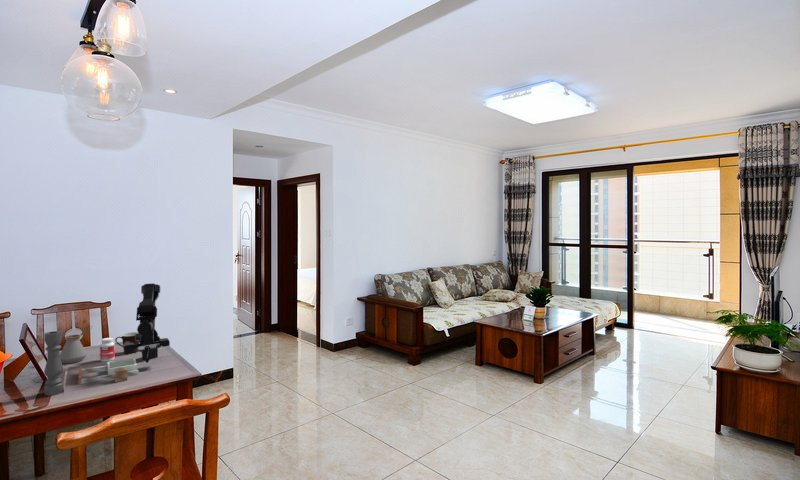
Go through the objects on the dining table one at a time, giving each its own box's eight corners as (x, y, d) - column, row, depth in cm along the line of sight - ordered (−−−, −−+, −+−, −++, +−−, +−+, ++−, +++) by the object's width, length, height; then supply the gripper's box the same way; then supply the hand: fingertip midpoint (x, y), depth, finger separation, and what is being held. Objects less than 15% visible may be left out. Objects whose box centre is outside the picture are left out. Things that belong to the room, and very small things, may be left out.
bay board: (135, 367, 207) (135, 359, 206) (138, 376, 194) (138, 368, 194) (79, 376, 194) (79, 367, 194) (78, 387, 181) (78, 377, 181)
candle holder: (51, 390, 177) (50, 330, 177) (67, 389, 178) (66, 330, 177) (40, 395, 171) (39, 334, 170) (56, 395, 172) (55, 334, 171)
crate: (135, 366, 205) (135, 357, 205) (137, 373, 195) (137, 364, 195) (107, 370, 198) (107, 361, 198) (108, 377, 189) (108, 369, 188)
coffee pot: (78, 364, 210) (78, 334, 210) (53, 365, 208) (52, 335, 208) (102, 351, 231) (101, 324, 231) (79, 352, 229) (78, 325, 229)
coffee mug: (144, 351, 233) (144, 333, 233) (129, 355, 225) (129, 336, 225) (128, 348, 237) (128, 331, 237) (113, 353, 229) (113, 334, 229)
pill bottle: (100, 362, 213) (99, 341, 213) (100, 359, 218) (99, 338, 218) (114, 360, 216) (114, 339, 216) (114, 357, 221) (114, 336, 221)
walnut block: (126, 380, 189) (126, 366, 189) (127, 383, 186) (127, 369, 186) (114, 382, 187) (114, 368, 187) (115, 385, 183) (114, 371, 183)
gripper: (166, 324, 214) (166, 354, 214) (122, 329, 203) (122, 361, 203) (169, 328, 205) (169, 360, 205) (123, 334, 194) (124, 367, 194)
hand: (147, 362), depth 202 cm, fingers closed
